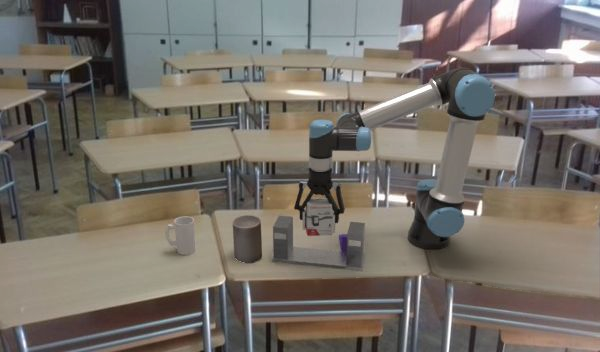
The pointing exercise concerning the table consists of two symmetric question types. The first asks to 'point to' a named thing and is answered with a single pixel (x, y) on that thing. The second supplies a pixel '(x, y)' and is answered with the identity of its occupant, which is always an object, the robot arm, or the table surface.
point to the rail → (318, 257)
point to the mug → (183, 235)
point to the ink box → (319, 217)
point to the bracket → (343, 242)
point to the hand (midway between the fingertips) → (318, 229)
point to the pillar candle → (247, 239)
